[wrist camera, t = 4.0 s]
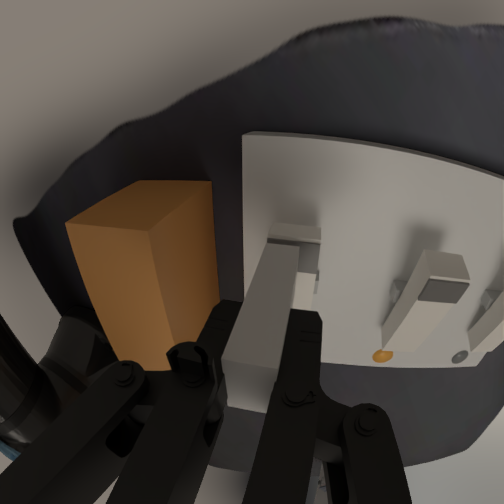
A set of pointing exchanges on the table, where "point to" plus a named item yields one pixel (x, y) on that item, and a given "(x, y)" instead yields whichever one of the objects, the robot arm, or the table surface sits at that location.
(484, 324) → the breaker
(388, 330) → the block
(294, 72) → the table surface
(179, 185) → the brown block
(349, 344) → the panel
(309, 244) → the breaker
